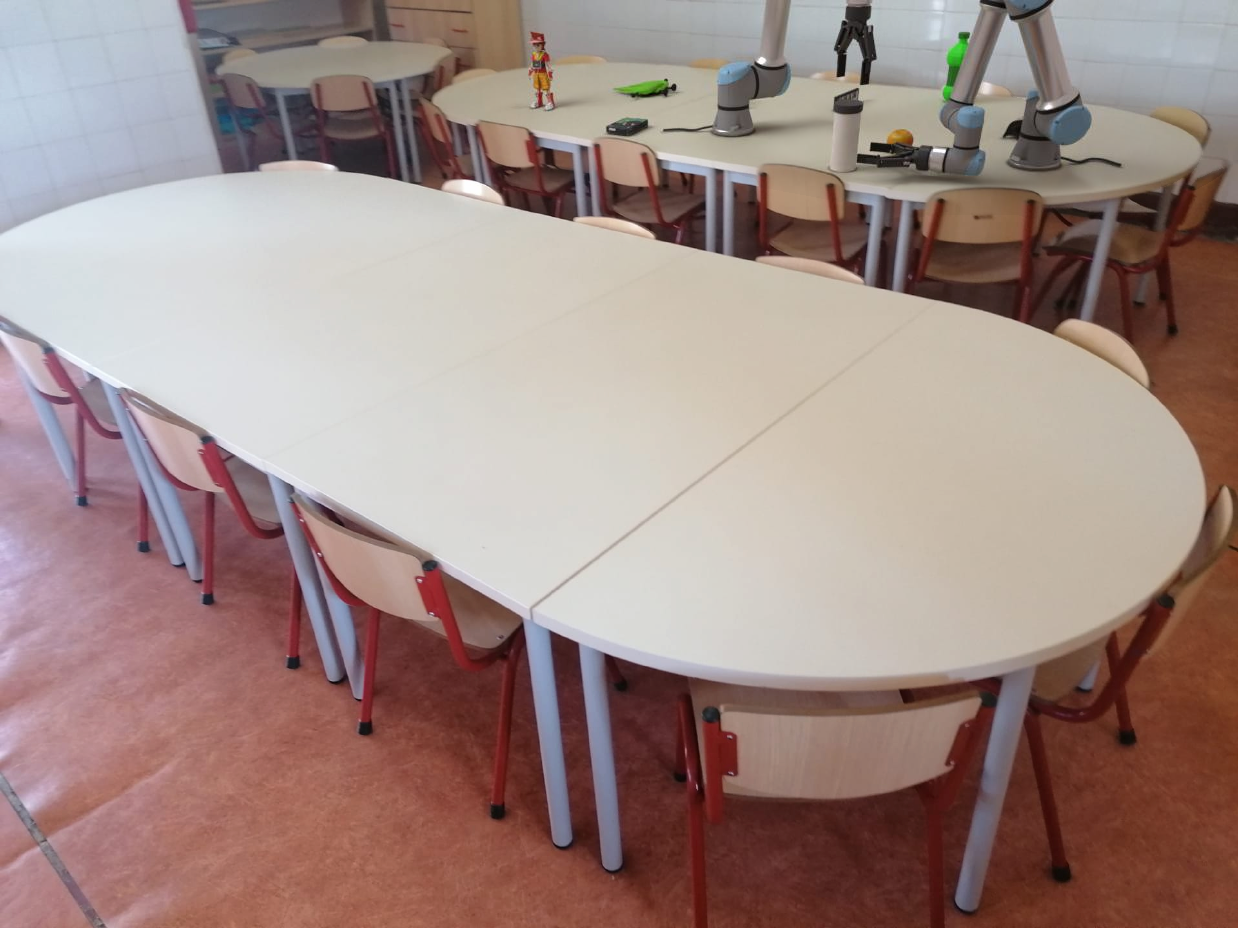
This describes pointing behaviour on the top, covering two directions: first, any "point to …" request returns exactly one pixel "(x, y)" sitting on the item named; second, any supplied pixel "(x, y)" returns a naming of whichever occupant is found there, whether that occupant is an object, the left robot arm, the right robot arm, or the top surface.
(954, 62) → the plastic bottle
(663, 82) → the toy
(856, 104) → the lid
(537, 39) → the toy
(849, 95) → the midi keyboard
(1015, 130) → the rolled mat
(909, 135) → the fruit
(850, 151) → the jar
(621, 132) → the disk drive
